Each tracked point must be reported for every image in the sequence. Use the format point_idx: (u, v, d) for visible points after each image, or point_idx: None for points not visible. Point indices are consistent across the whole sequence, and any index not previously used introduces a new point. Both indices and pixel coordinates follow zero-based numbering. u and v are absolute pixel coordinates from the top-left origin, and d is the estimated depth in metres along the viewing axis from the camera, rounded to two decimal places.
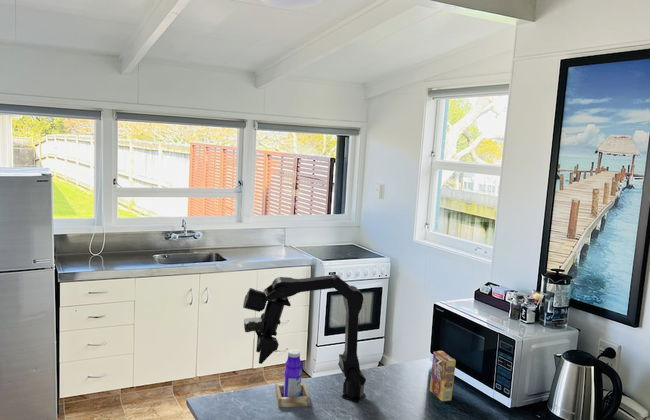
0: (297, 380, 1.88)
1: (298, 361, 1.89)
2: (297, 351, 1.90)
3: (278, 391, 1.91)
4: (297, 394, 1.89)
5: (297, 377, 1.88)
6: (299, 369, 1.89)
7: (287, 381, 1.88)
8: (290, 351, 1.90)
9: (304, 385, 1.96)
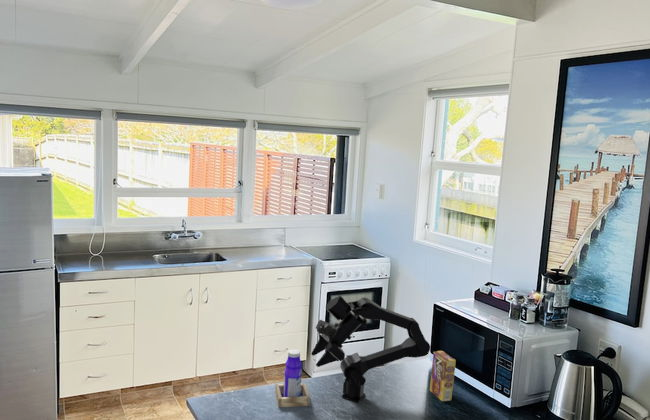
0: (297, 380, 1.88)
1: (298, 361, 1.89)
2: (297, 351, 1.90)
3: (278, 391, 1.91)
4: (297, 394, 1.89)
5: (297, 377, 1.88)
6: (299, 369, 1.89)
7: (287, 381, 1.88)
8: (290, 351, 1.90)
9: (304, 385, 1.96)
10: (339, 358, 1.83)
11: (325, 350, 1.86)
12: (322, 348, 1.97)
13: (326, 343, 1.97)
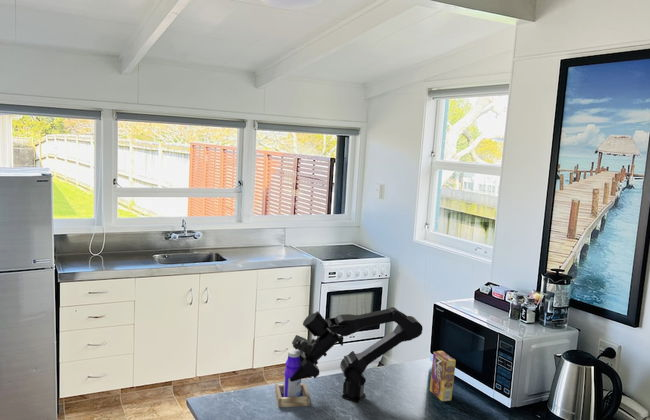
0: (297, 380, 1.88)
1: (298, 361, 1.89)
2: (297, 351, 1.90)
3: (278, 391, 1.91)
4: (297, 394, 1.89)
5: None
6: None
7: (287, 381, 1.88)
8: (290, 351, 1.90)
9: (304, 385, 1.96)
10: (313, 375, 1.82)
11: None
12: None
13: (302, 359, 1.95)
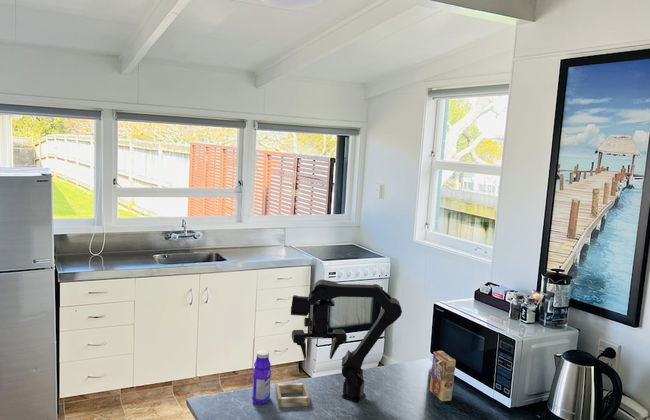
0: (265, 381, 1.86)
1: (267, 362, 1.87)
2: (266, 352, 1.88)
3: (278, 391, 1.91)
4: (266, 395, 1.87)
5: (265, 378, 1.86)
6: (268, 370, 1.87)
7: (255, 382, 1.86)
8: (259, 352, 1.87)
9: (304, 385, 1.96)
10: (293, 340, 1.90)
11: None
12: (332, 349, 1.94)
13: (333, 343, 1.94)
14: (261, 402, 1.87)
